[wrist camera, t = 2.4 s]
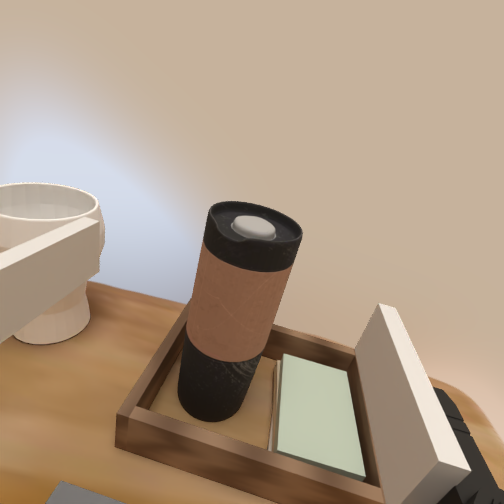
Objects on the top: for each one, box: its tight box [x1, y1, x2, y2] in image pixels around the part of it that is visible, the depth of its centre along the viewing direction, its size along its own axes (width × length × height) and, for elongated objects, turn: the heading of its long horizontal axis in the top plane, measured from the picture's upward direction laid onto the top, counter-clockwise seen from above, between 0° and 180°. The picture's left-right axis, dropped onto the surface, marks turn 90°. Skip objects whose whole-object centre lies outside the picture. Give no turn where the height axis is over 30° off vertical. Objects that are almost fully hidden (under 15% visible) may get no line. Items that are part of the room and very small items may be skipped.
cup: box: [0, 183, 105, 344], centre depth 31 cm, size 11×11×15 cm
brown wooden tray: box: [115, 299, 386, 504], centre depth 30 cm, size 22×16×4 cm
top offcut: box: [273, 354, 366, 482], centre depth 29 cm, size 8×11×1 cm
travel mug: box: [178, 201, 303, 422], centre depth 27 cm, size 8×8×20 cm
